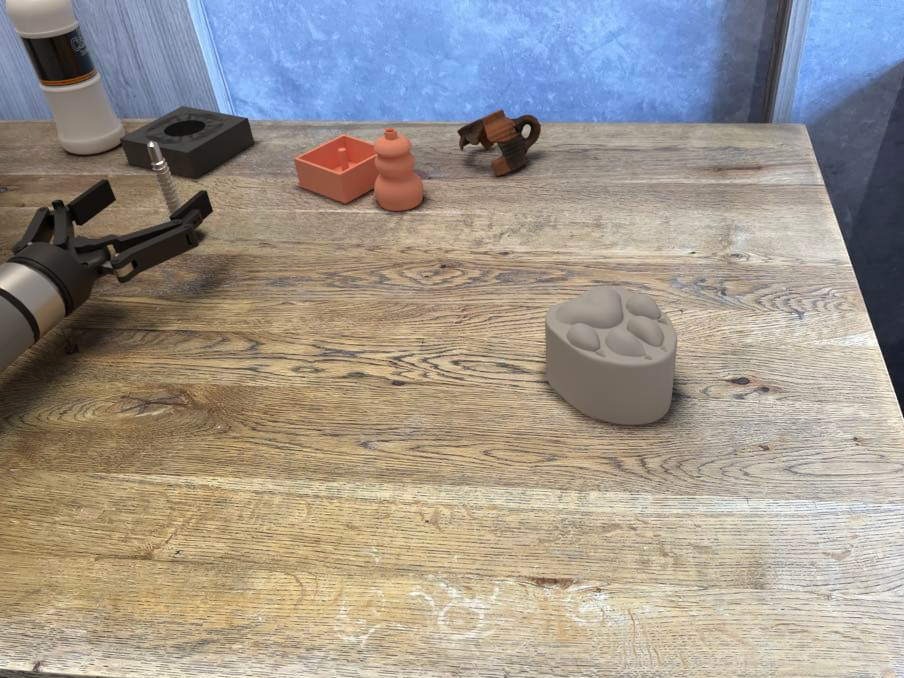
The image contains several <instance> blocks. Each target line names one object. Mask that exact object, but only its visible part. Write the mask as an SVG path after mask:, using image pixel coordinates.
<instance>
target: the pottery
mask: <svg viewBox="0 0 904 678" xmlns="http://www.w3.org/2000/svg"><path fill="white" fill-rule="evenodd" d="M411 148H412V143H411V140H410V139H409V138H408V137H407V136H405V135H403V134H399V133H398V130H397V128H395V127H387V128H384V129H383V135H382V136H380V137H378V138H377V139H376V140H375V141H374V143H373V142H369V141H367V140H364V139H361V138H358V137H354V136H352V135H348V134H345V133H343V134H341V135H339V136H337V137H334V138H333V139H331V140H328V141H326V142H325V143H322V144H320V145H318V146H317V147H314V148H312V149H310V150H308V151H306V152H303V153H302V154H300V155H298V156H296V157H294V158H293V162H294V165H295V171H296V174H297V178H298V182H299V183H298V184H299V186H300V187H301V188H303V189H305V190H308V191H310V192H313V193H316V194H318V195H321V196H323V197H327V198H328V199H329V198H330V199H332V200H334V201H337V202H339V203H343V204H348V203H350V202H352V201H353V200H355V199H357V198H359V197H361V196H362V195H364V194H366V193H368V192H369V191H371V190H373V189H374V190H373V191H374V192H373V193H374V196H375V197H376V200H377V202H378V205H379V206H380V208H382V209H385V210H387V211H391V212H392V211H393V212H401V211H408V210H411V209H413V208H416V207H418V206H419V205H420V204H421V203H422V202H423V198H424V197H423V196H424V184H423V181H422V179H421V177H420V176H419V174H418V173H417V172H416V171H415V170H414V168H415V165H416V160H415V156H414V154H413V153H412V152H411V151H410V150H411Z"/></svg>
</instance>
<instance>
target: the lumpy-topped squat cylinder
mask: <svg viewBox="0 0 904 678" xmlns="http://www.w3.org/2000/svg"><path fill="white" fill-rule="evenodd" d="M544 334H545V340H544V341H545V342H544V343H545V370H546V371H545V372H546V374H545V375H546V380H547V382H548V384H549V385H550V387H551V388H552V389H553V390H554V391H555V392H556V393H557V394H558V395H559V396H560V397H561V398H562V399H564V401H566V402H567V403H568V404H569V405H571V406H572V407H574V408H575V409H576V410H577V411H578V412H580V413H582V414H583V415H585V416H587V417H590V418H593V419H596V420H598V421H603V422H607V423H611V424H615V425H616V424H617V425H624V426H625V425H628V426H631V425H633V426H635V425H647V424H651V423H655V422H656V421H659V420H660V419H662V418H663V417H665V415H666V414H667V413H668V412H669V409H670V408H671V403H672V397H673V390H674V389H673V388H674V378H675V369H676V360H677V350H678V335H677V331H676V329H675V326H674V324H673V322H672V320H671V318H670V317H669V316H668V315H667V314H666V313H665V312H664V311H662V310H661V309H660V308H659V305H658V303H657V302H656V300H655V299H654V298H653V297H652V296H650V295H648V294H645V293H634V292H632V291H630V290H629V289H626V288H623V287H621V286H617V285H597V286H593V287H591V288H589V289H586V290H585V291H584V292H582V293H581V294H579V295H578V296H575V297H574V298H571V299H568V300H565V301H562V302H559V303H557V304H554V305H553V306H551V307H550V308H549V309H547V311H546V313H545V317H544Z"/></svg>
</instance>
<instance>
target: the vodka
mask: <svg viewBox="0 0 904 678" xmlns="http://www.w3.org/2000/svg"><path fill="white" fill-rule="evenodd" d="M72 2H73V1H72V0H5V11H6V13H7V15H8V17H9V19H10V21H11V23H12V25H13V26H14V32H15V34H17V35H18V37H19V39H20V42H21V44H22V46H23V49H24V50H25V53H26V55H27V57H28V60H29V62H30V65H31V66H32V69H33V71H34V73H35V76H36V78H37V81H38V83H39V84H38V87H39V89H40V90H41V91H42V93H43V96H44V97H45V99H46V101H47V104H48V106H49V109H50V111H51V114H52V116H53V119H54V123H55V126H56V130H57V138H58V141H59V143H60V146H61V147H62V148H63V149H64V150H65V151H66V152H68V153H71V154H74V155H80V156H88V155H97V154H102V153H105V152H108V151H110V150H113V149H115V148H116V147H118V146H120V144H121V142H120V138H122V137H124V136H126V131H125V129H124V125H123V124H122V121H121V120H120V119H119V118H118V116H117V114H116V112H115V111H114V109H113V107H112V106H111V103H110V101H109V98H108V96H107V93H106V91H105V88H104V85H103V83H102V79H101V76H102V75H101V74H100V73H99V72H98V70H97V68H96V64H95V62H94V60H93V57H92V55H91V52H90V49H89V47H88V44H87V42H86V39H85V36H84V34H83V31H82V28H81V26H80V23H79V20H78V18H77V16H76V13H75V11H74V7H73V3H72Z"/></svg>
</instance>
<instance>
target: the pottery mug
mask: <svg viewBox="0 0 904 678" xmlns="http://www.w3.org/2000/svg"><path fill="white" fill-rule="evenodd" d="M527 125H528V126H529V127H530V130H529V134H528V136H527V137H525V136H524V135H523V130H524V127H526V126H527ZM541 126H542V125H541V123H540V122H539V119H538V118H537V117H535V116H534V115H533V114H524V115H521V116H519V117H516V118H510V117H508V116H506V113H505V111H504V109H498V110H496V111H493V112H491V113H490V114H487V115H485V116H483V117H481V118H478V119H476V120H473V121H472V122H469V123H467V124H466V125H464V126H461V127H460V128H459V129H458V130H457V131H456V132H457V135H458V136H459V142H458V146H459V149H460V151H461V152H463V151H464V147H466V146H468V145H472V146H478V145H480V144H481V145H480V146H482V147H483V148H484V149H485V150H490V148H492V147H493V146H494V145H495V144H496V145H497V147H498V148H499V149H500V152H501V154H502V155H501V156H500V157H498V158H496V159H494V160H492V161H491V162H490V163H491V166H492V168H493V170H494V173H495V176H496V177H500V176H503V175H505V174H507V173H509V172H512V171H514V170H517V169H520V168H522V167H524V166H525V165H526V164H527V163H526V161H527V160H526V155H527V153H528V151H529V149H530V148H531V147H532V146H534V145H535V144H536V143H537V142H538V140H539V138H540V135H541V132H542V127H541Z"/></svg>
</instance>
